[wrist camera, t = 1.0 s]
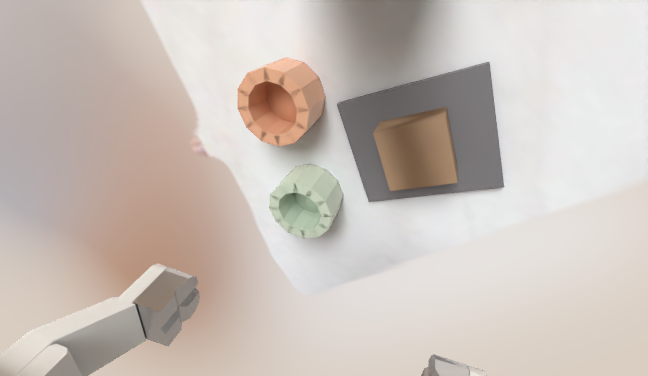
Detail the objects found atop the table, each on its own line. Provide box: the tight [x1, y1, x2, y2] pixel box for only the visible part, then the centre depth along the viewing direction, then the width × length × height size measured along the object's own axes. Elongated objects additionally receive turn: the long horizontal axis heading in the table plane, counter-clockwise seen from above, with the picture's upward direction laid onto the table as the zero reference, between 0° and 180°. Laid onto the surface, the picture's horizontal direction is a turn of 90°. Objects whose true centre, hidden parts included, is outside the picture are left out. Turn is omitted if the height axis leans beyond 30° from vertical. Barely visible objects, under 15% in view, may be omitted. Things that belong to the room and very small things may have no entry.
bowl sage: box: [269, 164, 343, 238], centre depth 39 cm, size 8×8×4 cm
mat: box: [337, 62, 504, 202], centre depth 32 cm, size 14×12×1 cm
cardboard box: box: [373, 107, 458, 191], centre depth 31 cm, size 6×6×3 cm
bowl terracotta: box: [238, 58, 325, 146], centre depth 33 cm, size 8×8×4 cm
